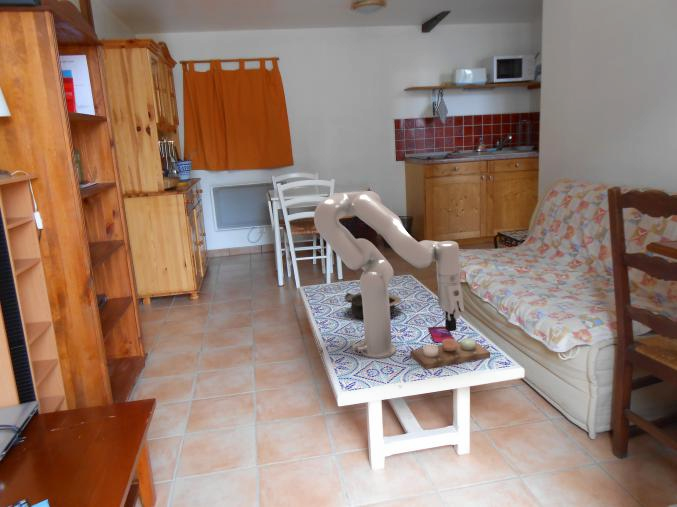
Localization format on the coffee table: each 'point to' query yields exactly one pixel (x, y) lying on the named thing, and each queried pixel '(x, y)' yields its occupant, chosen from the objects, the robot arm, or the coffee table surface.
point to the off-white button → (430, 350)
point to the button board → (449, 356)
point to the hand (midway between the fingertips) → (451, 330)
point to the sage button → (467, 344)
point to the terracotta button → (449, 344)
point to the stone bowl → (358, 305)
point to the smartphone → (439, 334)
